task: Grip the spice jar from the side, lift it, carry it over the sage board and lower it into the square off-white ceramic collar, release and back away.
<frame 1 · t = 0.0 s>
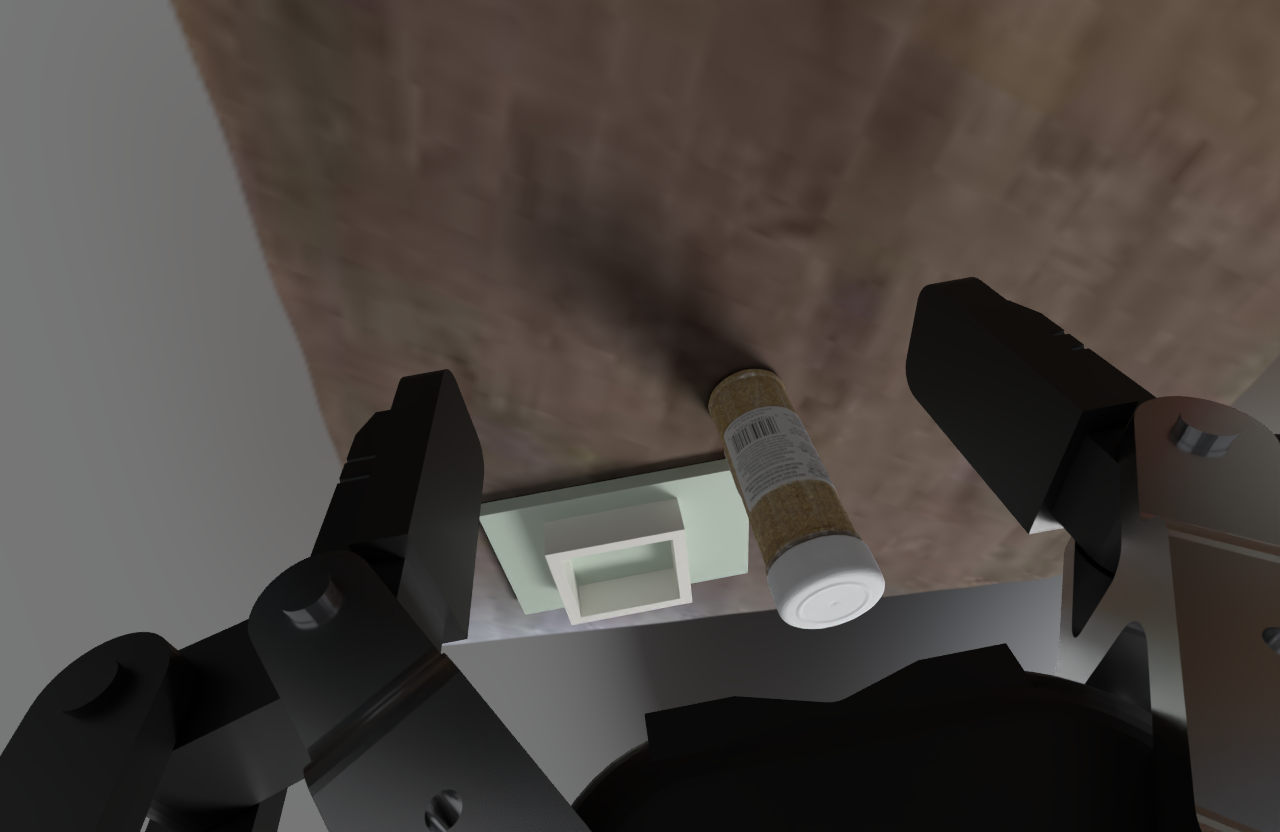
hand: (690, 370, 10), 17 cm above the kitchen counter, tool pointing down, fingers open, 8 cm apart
socket board: (618, 537, 42), on the kitchen counter
spice jar: (744, 393, 35), on the kitchen counter
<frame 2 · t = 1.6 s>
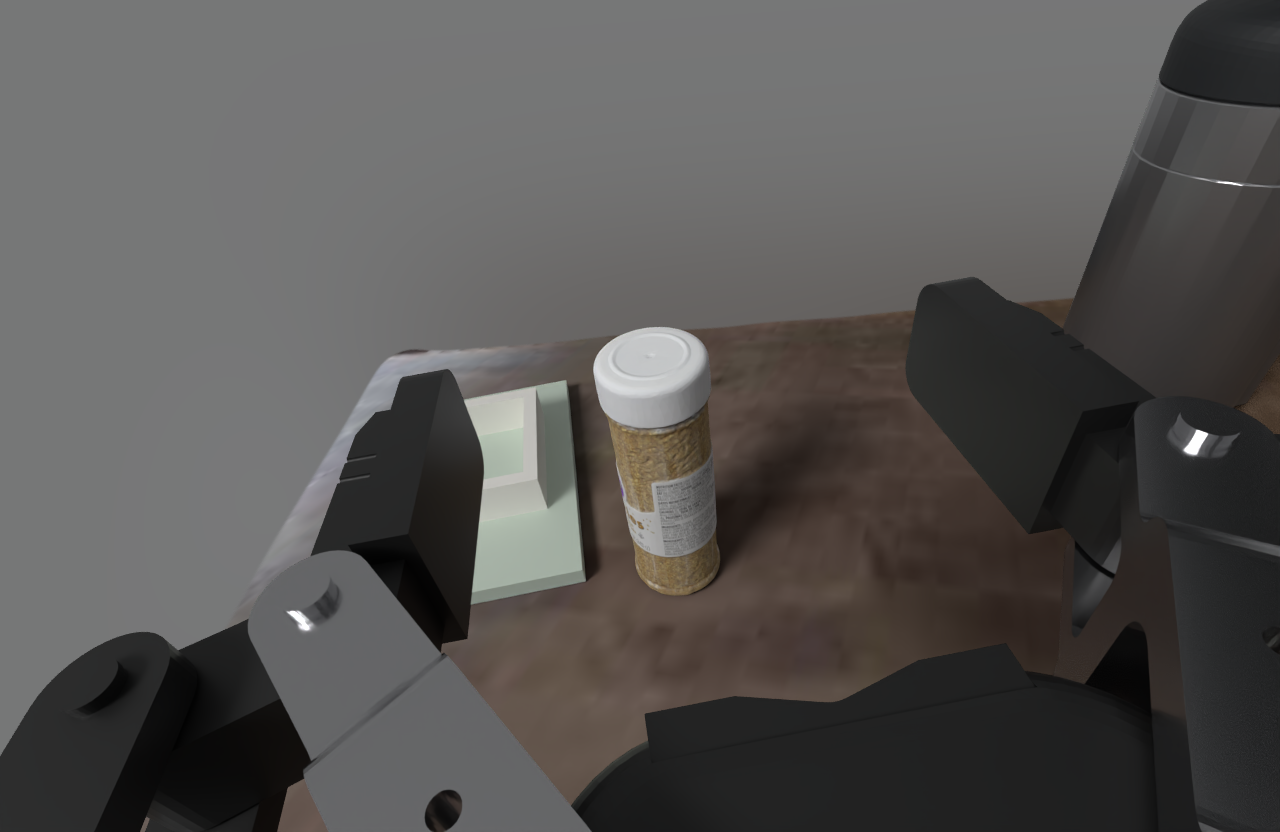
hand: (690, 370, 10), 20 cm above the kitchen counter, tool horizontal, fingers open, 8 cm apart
socket board: (483, 482, 38), on the kitchen counter
spice jar: (679, 565, 32), on the kitchen counter
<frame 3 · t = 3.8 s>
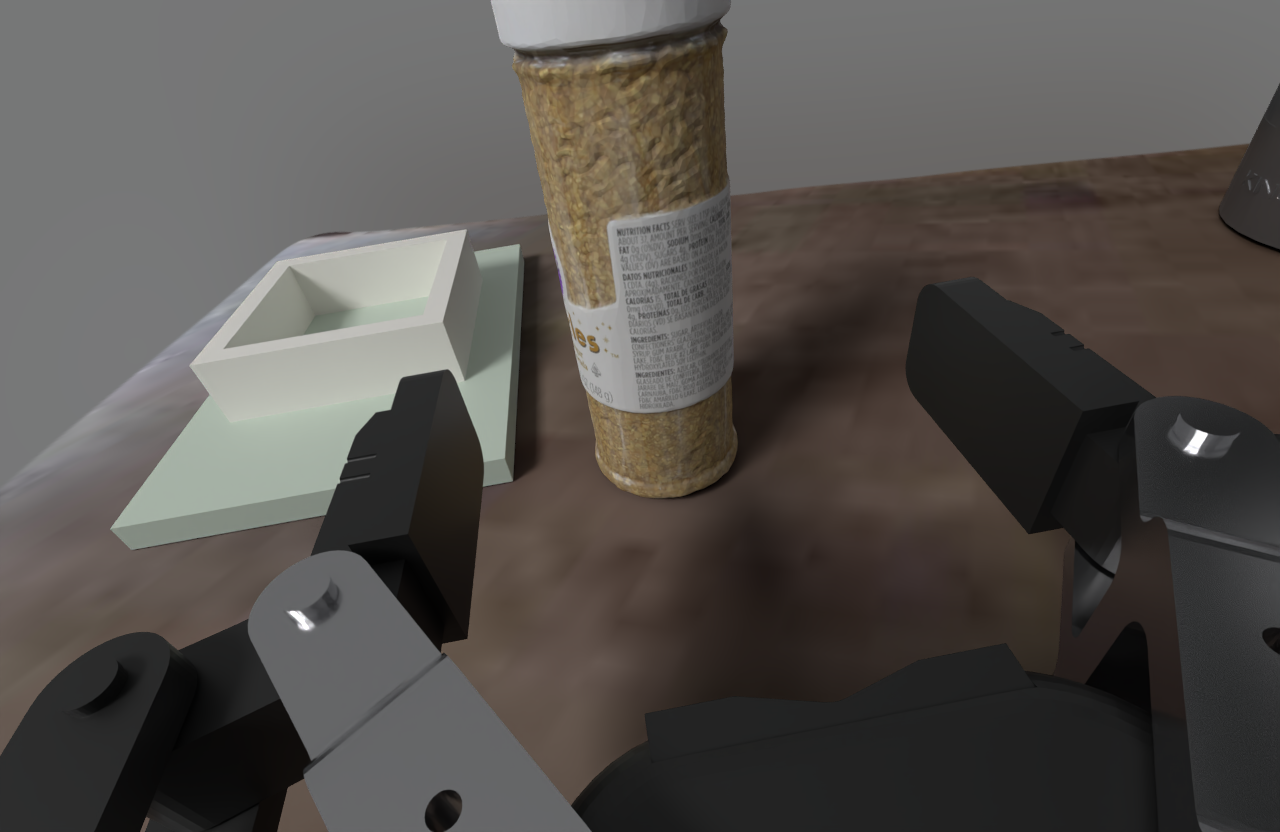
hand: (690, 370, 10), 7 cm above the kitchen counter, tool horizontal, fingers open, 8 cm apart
socket board: (382, 361, 26), on the kitchen counter
spice jar: (668, 458, 19), on the kitchen counter
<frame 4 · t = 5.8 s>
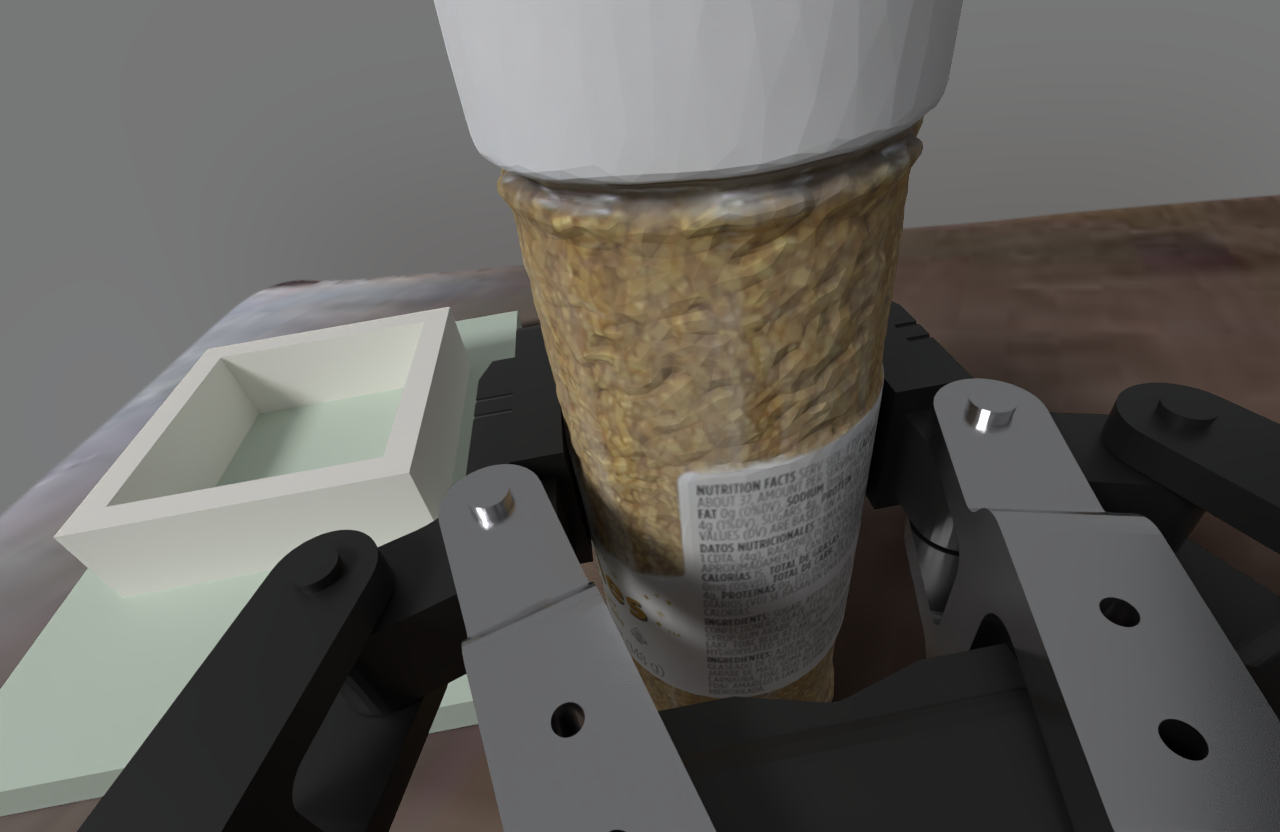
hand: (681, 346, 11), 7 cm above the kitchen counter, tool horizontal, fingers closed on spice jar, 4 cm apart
socket board: (341, 481, 20), on the kitchen counter
spice jar: (729, 679, 13), on the kitchen counter, touching gripper
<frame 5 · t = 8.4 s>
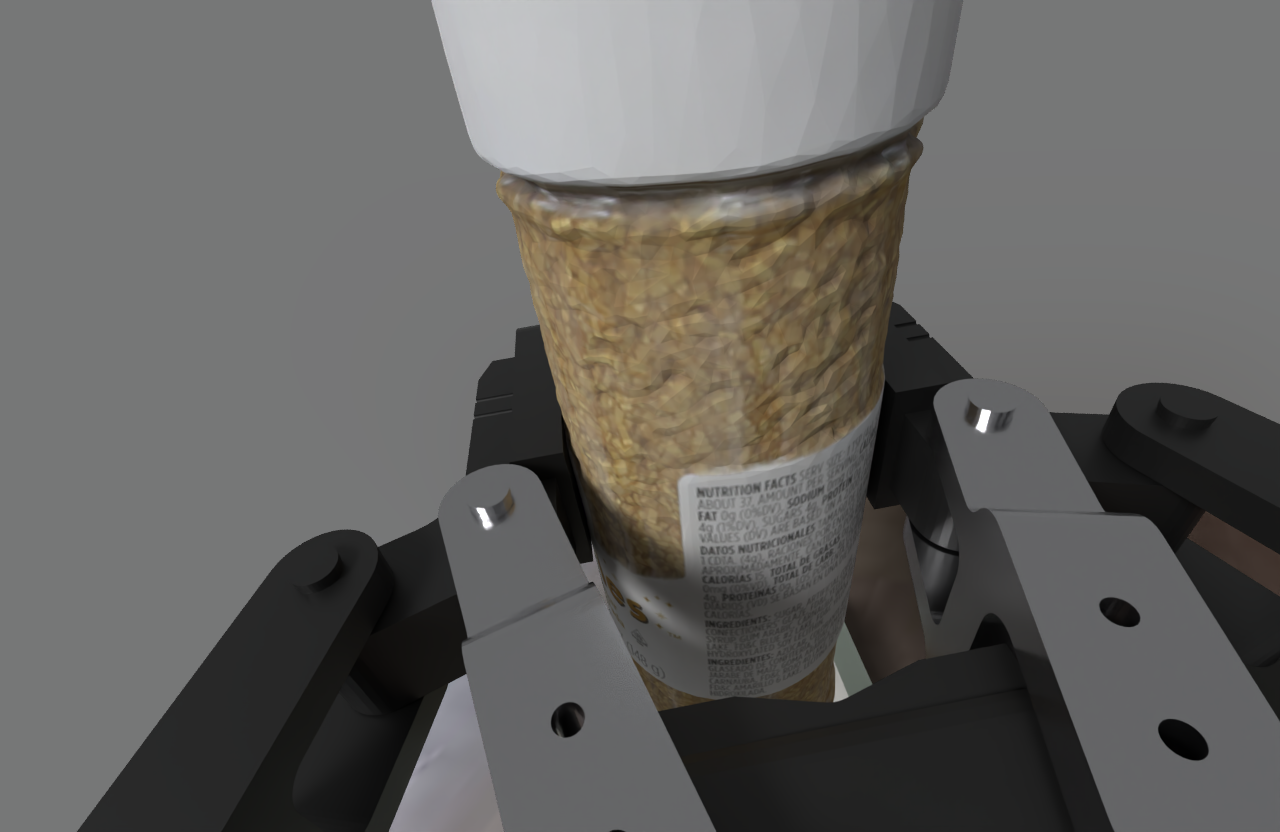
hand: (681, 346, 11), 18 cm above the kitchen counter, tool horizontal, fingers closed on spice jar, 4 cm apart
socket board: (736, 824, 20), on the kitchen counter
spice jar: (730, 681, 13), point 10 cm above the kitchen counter, touching gripper
when the fingers open (9 cm above the kitchen counter, at t = 10.8 s): spice jar stays where it is, resting on socket board.
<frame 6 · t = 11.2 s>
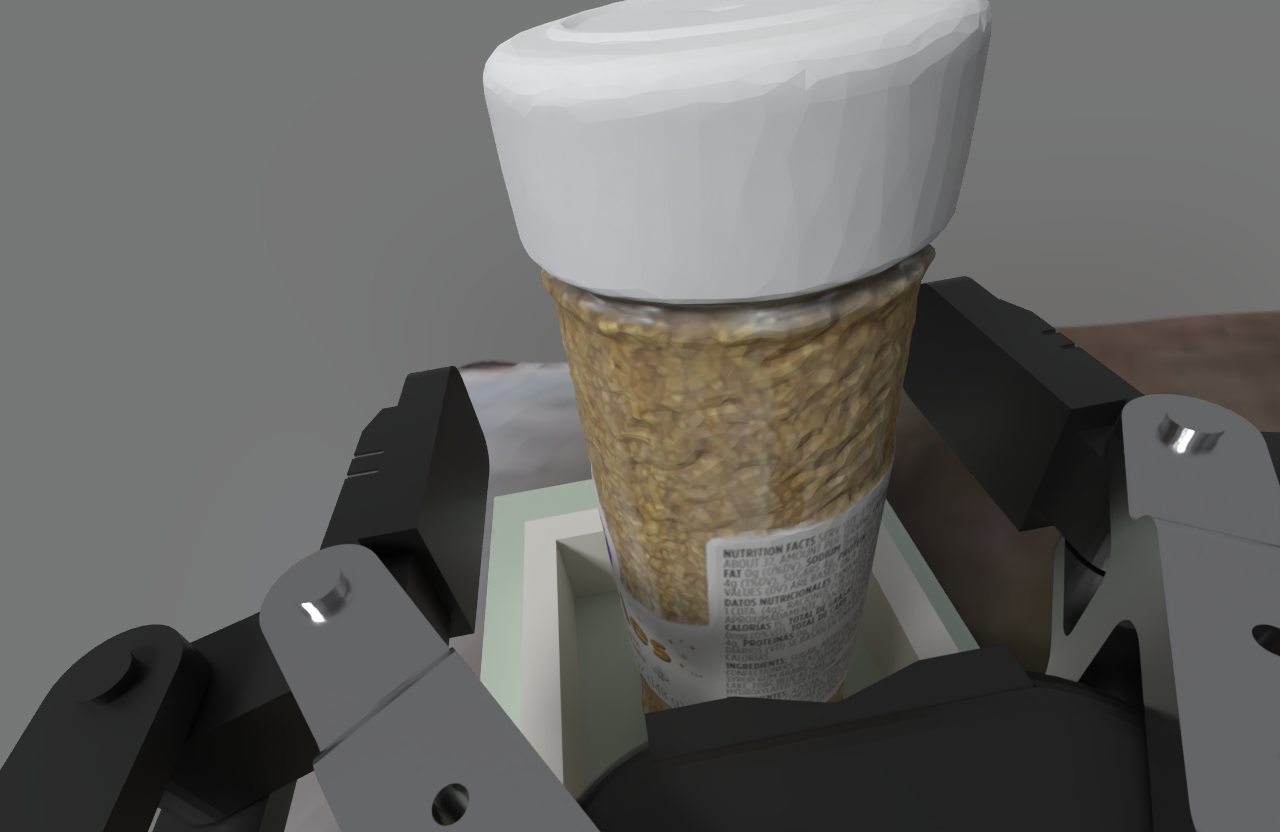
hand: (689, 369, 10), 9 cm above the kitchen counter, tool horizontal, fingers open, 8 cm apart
socket board: (731, 716, 15), on the kitchen counter
spice jar: (742, 705, 14), point 1 cm above the kitchen counter, touching socket board
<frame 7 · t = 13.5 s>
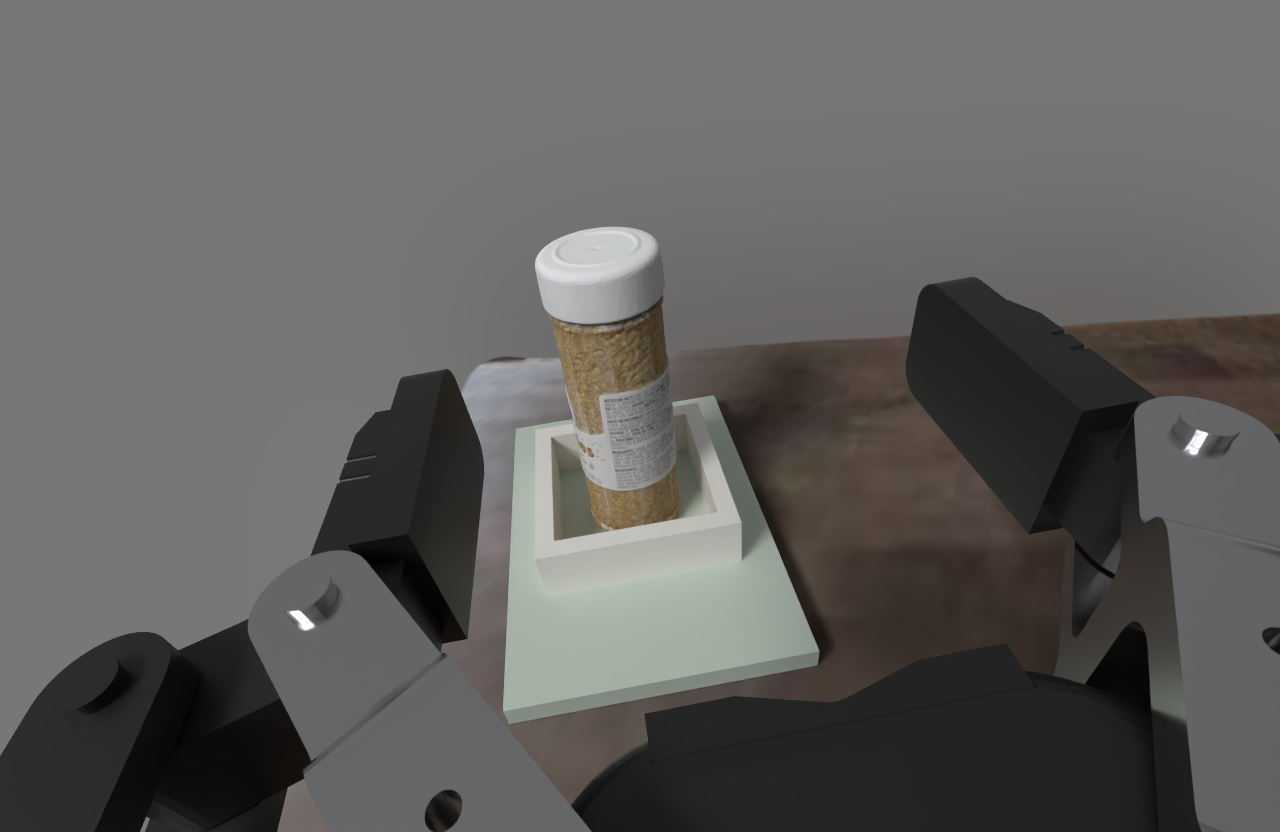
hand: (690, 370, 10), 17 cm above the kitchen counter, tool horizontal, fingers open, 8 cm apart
socket board: (634, 521, 30), on the kitchen counter
spice jar: (638, 511, 29), point 1 cm above the kitchen counter, touching socket board
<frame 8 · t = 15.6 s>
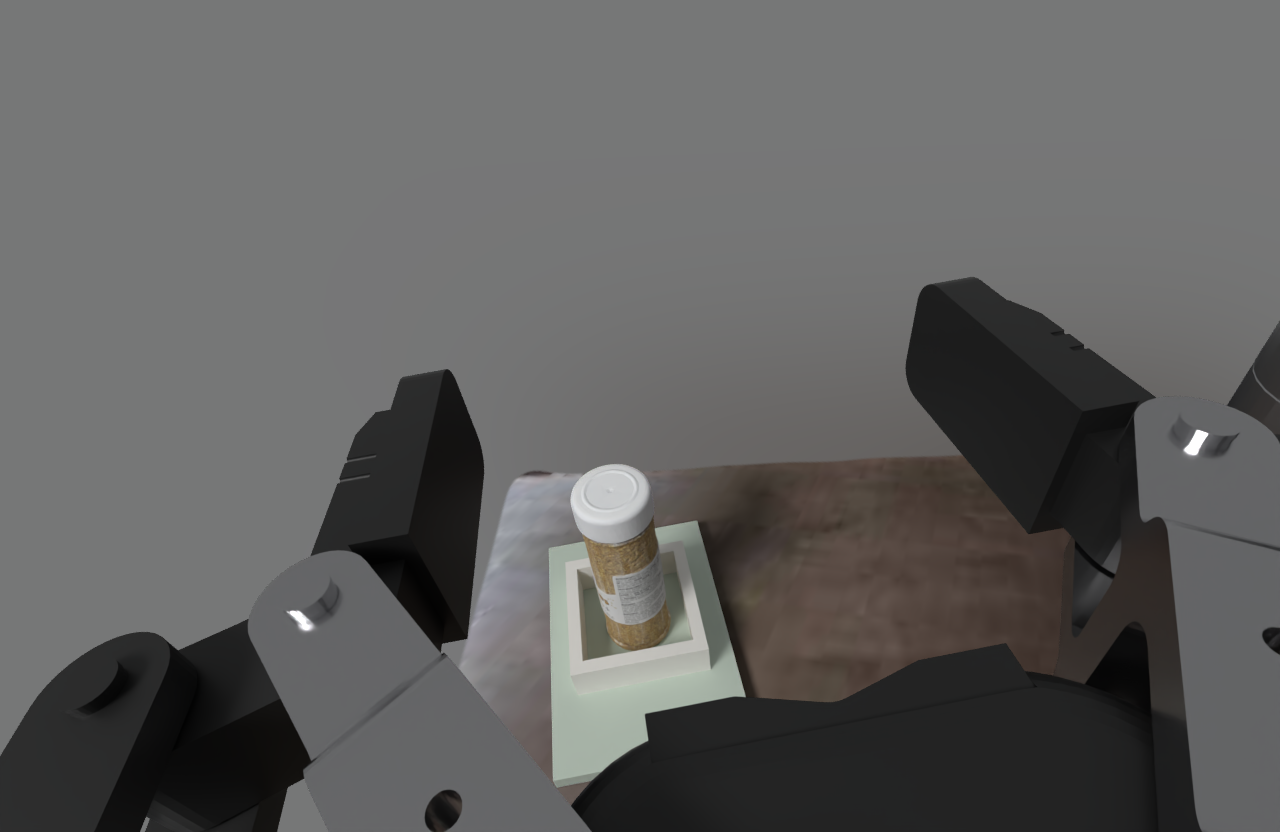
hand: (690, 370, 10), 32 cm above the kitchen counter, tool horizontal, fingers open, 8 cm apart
socket board: (637, 630, 42), on the kitchen counter
spice jar: (639, 625, 42), point 1 cm above the kitchen counter, touching socket board
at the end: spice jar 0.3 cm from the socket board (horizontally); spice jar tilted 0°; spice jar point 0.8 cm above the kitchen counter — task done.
